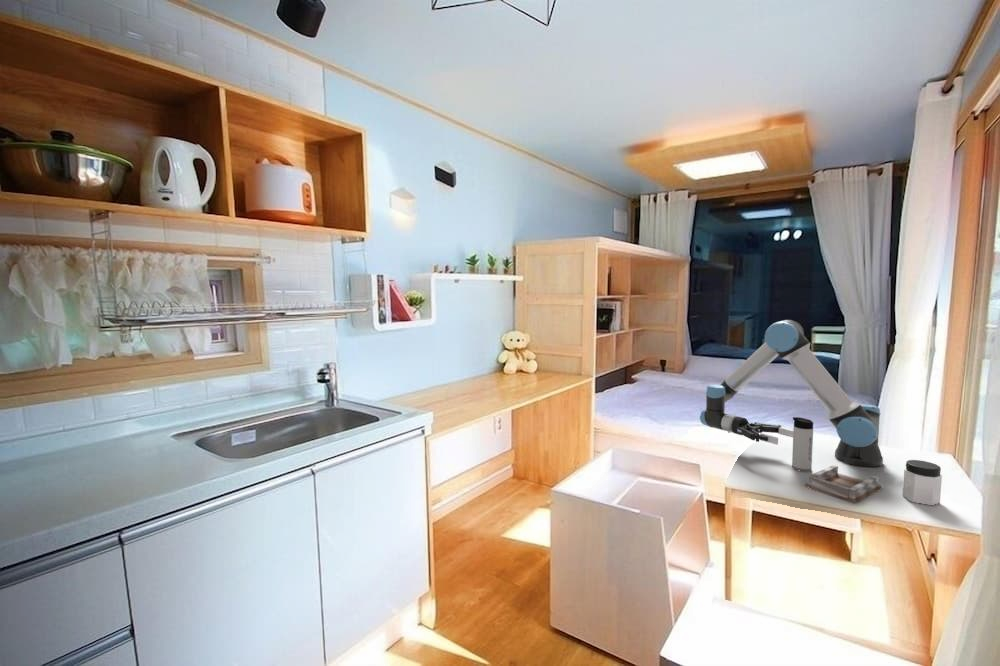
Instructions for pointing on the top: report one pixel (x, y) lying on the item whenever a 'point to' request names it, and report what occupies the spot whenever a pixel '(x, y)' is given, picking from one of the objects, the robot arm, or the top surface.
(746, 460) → the top surface
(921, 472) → the jar
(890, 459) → the top surface
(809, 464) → the travel mug
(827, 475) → the tray
